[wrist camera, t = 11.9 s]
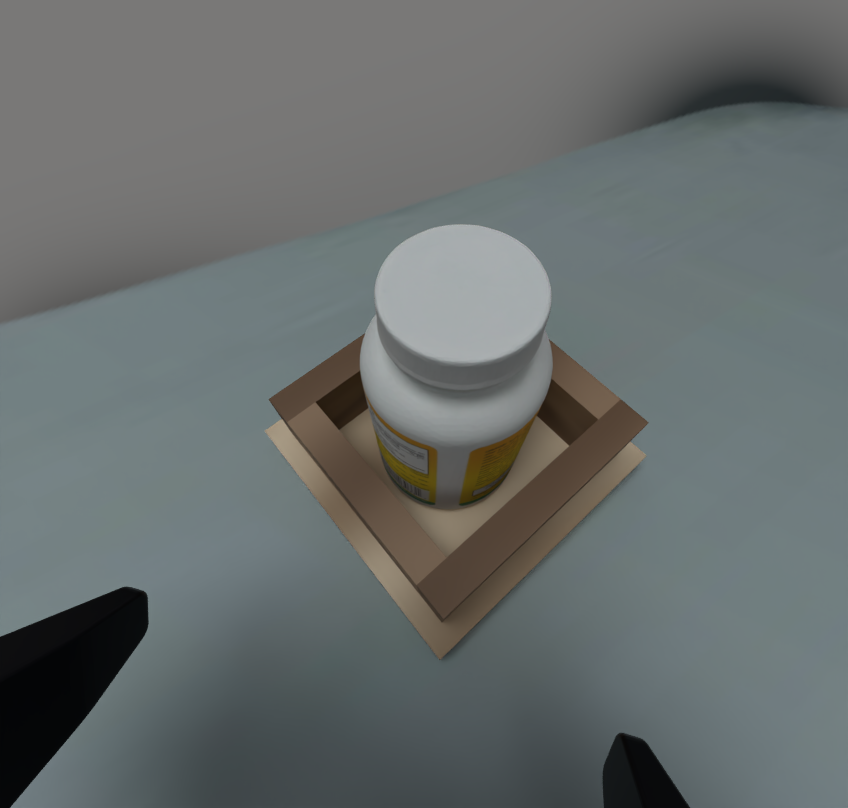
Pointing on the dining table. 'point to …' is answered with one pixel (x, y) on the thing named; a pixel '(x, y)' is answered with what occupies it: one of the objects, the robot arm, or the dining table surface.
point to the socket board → (465, 527)
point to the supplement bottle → (456, 361)
